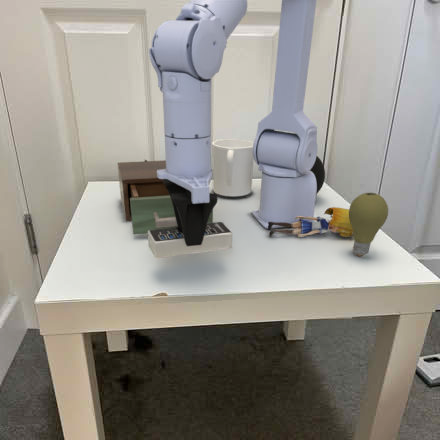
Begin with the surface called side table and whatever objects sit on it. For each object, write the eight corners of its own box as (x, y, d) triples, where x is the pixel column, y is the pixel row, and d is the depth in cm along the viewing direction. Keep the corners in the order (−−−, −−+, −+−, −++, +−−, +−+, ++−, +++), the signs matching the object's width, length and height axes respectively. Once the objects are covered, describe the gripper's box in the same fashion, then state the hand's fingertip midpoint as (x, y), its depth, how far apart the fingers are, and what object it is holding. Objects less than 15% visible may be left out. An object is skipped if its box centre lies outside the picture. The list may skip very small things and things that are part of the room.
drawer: (220, 238, 73) (220, 204, 70) (136, 246, 70) (133, 210, 67) (199, 207, 86) (199, 177, 83) (127, 212, 83) (125, 181, 80)
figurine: (269, 245, 76) (357, 241, 77) (271, 219, 73) (364, 216, 73) (266, 229, 80) (350, 225, 80) (268, 203, 76) (356, 200, 76)
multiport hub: (148, 245, 63) (147, 229, 62) (221, 235, 66) (222, 221, 65) (155, 258, 60) (154, 242, 58) (232, 247, 63) (233, 232, 62)
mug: (214, 185, 101) (215, 137, 96) (254, 188, 100) (257, 139, 95) (206, 201, 92) (206, 149, 86) (250, 204, 91) (253, 151, 85)
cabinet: (204, 215, 85) (205, 175, 81) (125, 221, 81) (122, 179, 78) (192, 195, 94) (191, 159, 91) (121, 200, 91) (117, 162, 87)
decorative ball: (325, 208, 89) (332, 157, 84) (274, 207, 89) (278, 155, 84) (317, 193, 98) (323, 145, 93) (271, 191, 98) (274, 144, 93)
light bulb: (358, 266, 68) (371, 201, 63) (334, 251, 72) (344, 190, 67) (386, 259, 70) (400, 196, 65) (360, 245, 74) (372, 185, 69)
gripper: (147, 124, 61) (153, 220, 67) (164, 149, 49) (169, 262, 55) (199, 122, 62) (199, 216, 69) (227, 146, 50) (225, 257, 57)
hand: (189, 236), depth 62 cm, fingers closed on multiport hub, 4 cm apart
